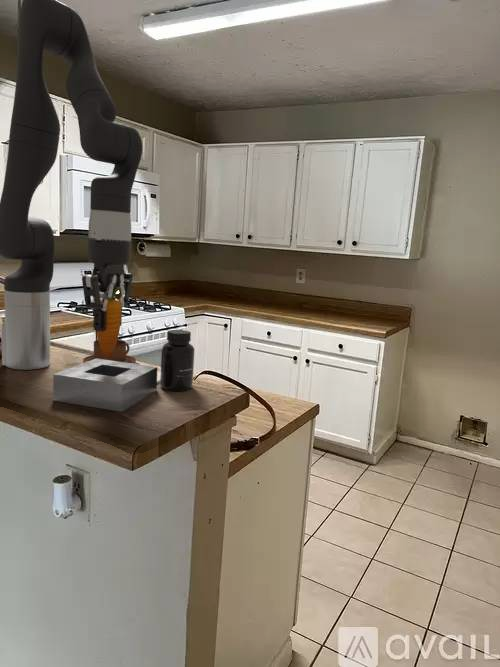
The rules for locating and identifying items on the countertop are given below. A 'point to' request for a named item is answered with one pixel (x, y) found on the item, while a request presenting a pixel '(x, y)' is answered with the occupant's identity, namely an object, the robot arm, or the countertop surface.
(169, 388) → the supplement bottle
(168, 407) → the countertop surface
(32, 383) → the countertop surface
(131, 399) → the metal housing
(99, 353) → the cup and saucer
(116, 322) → the carrot
